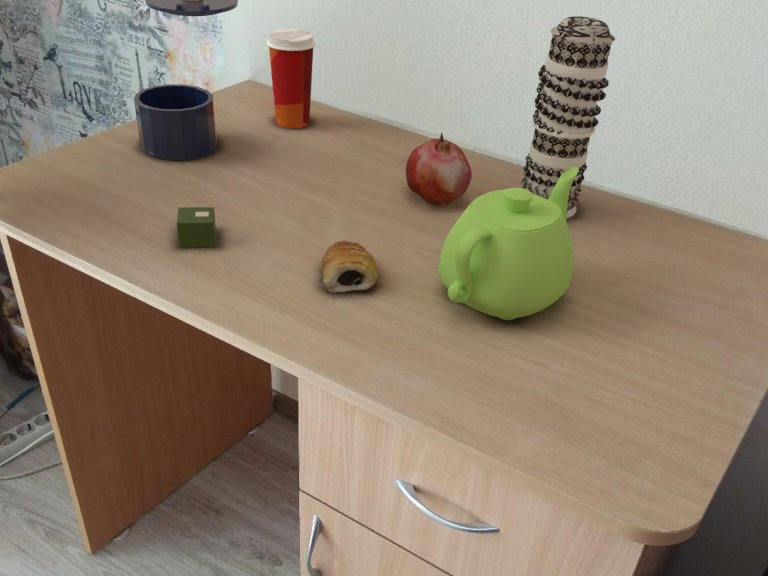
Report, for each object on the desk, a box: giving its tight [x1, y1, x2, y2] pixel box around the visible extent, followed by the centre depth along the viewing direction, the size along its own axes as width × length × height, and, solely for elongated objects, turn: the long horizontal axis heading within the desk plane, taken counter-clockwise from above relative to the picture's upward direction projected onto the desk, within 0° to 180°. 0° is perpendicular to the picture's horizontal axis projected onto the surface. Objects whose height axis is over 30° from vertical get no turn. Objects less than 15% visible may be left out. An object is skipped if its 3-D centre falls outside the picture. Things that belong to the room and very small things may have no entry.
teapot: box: [437, 167, 578, 321], centre depth 90 cm, size 22×15×13 cm
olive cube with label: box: [176, 206, 217, 248], centre depth 98 cm, size 4×4×4 cm
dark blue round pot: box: [133, 83, 218, 162], centre depth 119 cm, size 11×11×8 cm
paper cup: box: [266, 28, 316, 129], centre depth 127 cm, size 8×8×14 cm
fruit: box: [405, 132, 473, 206], centre depth 109 cm, size 9×10×10 cm
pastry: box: [320, 240, 379, 294], centre depth 93 cm, size 9×7×4 cm
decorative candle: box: [520, 15, 616, 219], centre depth 105 cm, size 9×9×25 cm
